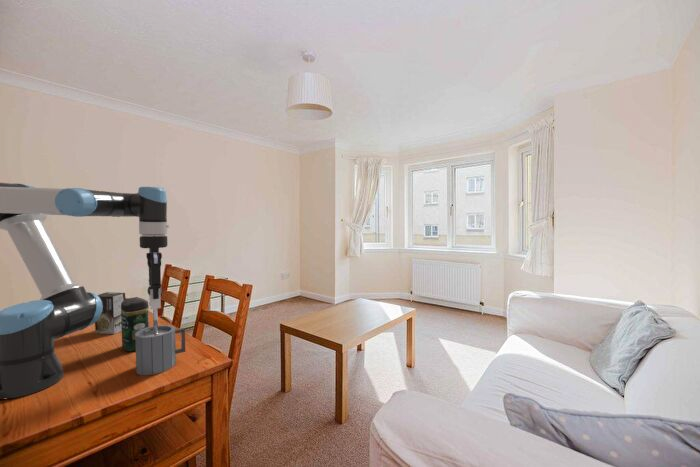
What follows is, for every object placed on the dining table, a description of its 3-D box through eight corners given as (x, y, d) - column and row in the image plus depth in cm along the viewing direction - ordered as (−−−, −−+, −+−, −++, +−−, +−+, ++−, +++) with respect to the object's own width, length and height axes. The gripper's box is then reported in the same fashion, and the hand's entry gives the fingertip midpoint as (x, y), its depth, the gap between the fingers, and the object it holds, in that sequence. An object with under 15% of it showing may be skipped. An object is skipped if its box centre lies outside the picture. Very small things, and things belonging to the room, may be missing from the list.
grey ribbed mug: (136, 378, 91) (135, 340, 90) (135, 364, 99) (134, 329, 99) (187, 365, 99) (187, 330, 99) (182, 353, 108) (182, 321, 107)
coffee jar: (119, 346, 113) (117, 298, 112) (143, 340, 119) (142, 294, 118) (127, 354, 107) (125, 303, 106) (152, 347, 113) (151, 298, 112)
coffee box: (127, 328, 131) (126, 292, 130) (114, 334, 124) (113, 296, 123) (108, 327, 132) (107, 291, 131) (94, 333, 125) (93, 295, 124)
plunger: (141, 343, 92) (140, 288, 91) (140, 335, 99) (139, 283, 98) (171, 337, 97) (170, 284, 96) (168, 329, 103) (167, 280, 103)
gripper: (170, 236, 92) (171, 311, 93) (164, 233, 105) (165, 299, 106) (140, 237, 87) (142, 315, 88) (138, 234, 101) (140, 302, 102)
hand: (155, 306), depth 97 cm, fingers closed on plunger, 4 cm apart
